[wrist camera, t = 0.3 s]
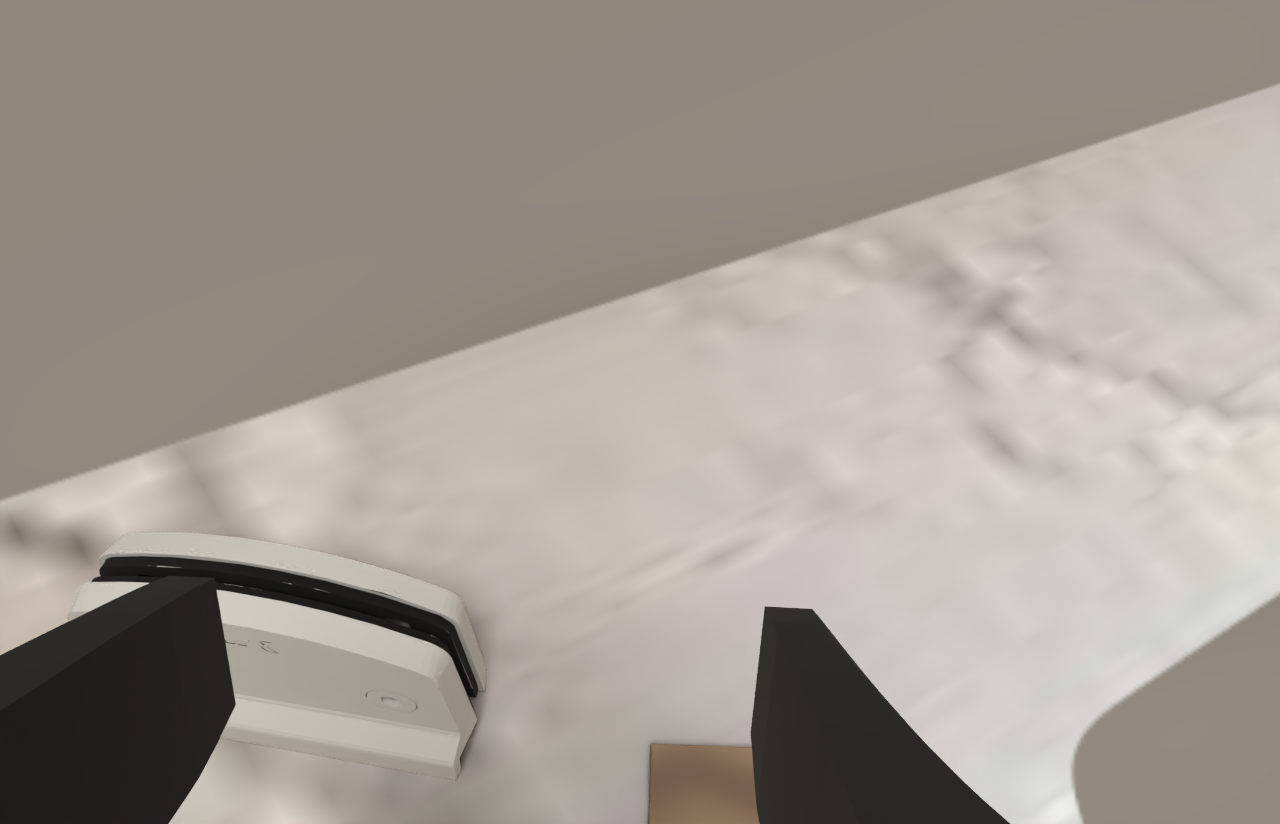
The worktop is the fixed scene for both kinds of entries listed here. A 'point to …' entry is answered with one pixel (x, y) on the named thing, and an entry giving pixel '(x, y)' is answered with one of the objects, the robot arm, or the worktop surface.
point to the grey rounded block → (322, 647)
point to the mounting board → (701, 785)
